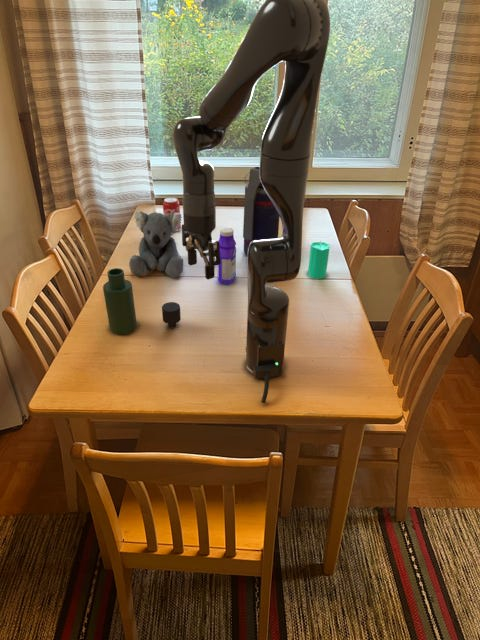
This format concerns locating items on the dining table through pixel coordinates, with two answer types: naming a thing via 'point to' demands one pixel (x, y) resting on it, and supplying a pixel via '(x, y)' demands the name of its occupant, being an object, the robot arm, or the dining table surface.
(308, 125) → the robot arm
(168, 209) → the beverage can
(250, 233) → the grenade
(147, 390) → the dining table surface
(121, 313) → the green bottle
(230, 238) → the bottle
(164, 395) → the dining table surface
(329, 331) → the dining table surface
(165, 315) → the cylinder
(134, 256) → the koala plush
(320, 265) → the candle
